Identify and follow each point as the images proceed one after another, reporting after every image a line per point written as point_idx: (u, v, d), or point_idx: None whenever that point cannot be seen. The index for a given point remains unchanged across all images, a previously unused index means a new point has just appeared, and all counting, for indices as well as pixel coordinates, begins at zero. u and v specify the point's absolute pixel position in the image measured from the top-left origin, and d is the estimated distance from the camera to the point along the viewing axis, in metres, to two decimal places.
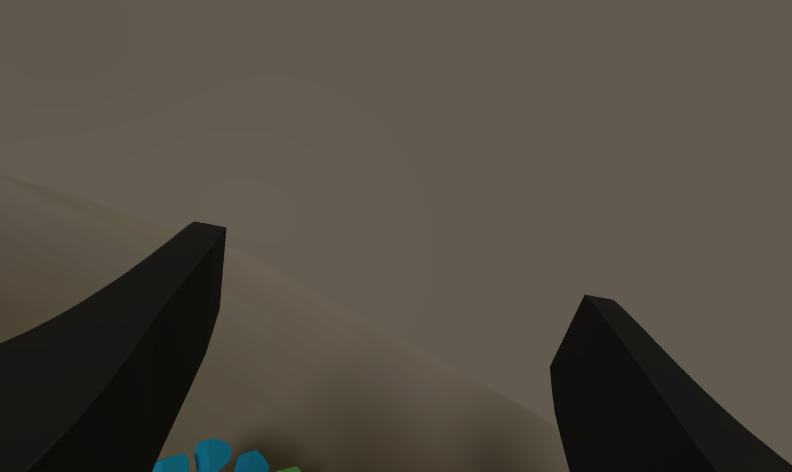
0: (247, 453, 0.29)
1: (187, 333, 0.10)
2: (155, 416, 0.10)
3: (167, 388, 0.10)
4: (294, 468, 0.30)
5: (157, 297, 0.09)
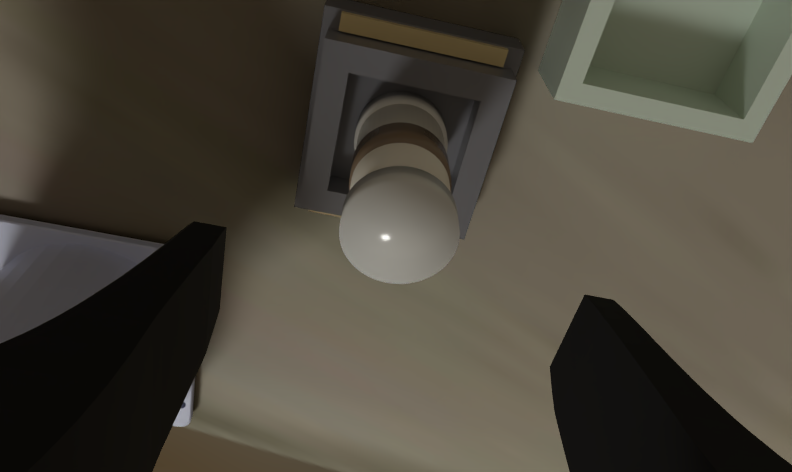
0: None
1: (187, 333, 0.10)
2: (155, 416, 0.10)
3: (167, 388, 0.10)
4: None
5: (157, 297, 0.09)
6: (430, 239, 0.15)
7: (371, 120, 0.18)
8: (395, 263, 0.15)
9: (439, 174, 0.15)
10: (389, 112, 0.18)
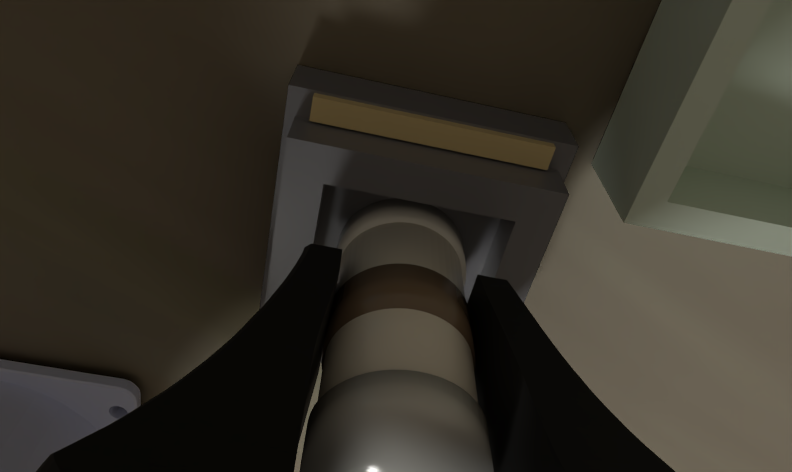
0: None
1: (318, 355, 0.11)
2: None
3: (304, 410, 0.10)
4: None
5: (309, 323, 0.09)
6: None
7: (357, 248, 0.12)
8: None
9: (460, 366, 0.10)
10: (383, 239, 0.12)
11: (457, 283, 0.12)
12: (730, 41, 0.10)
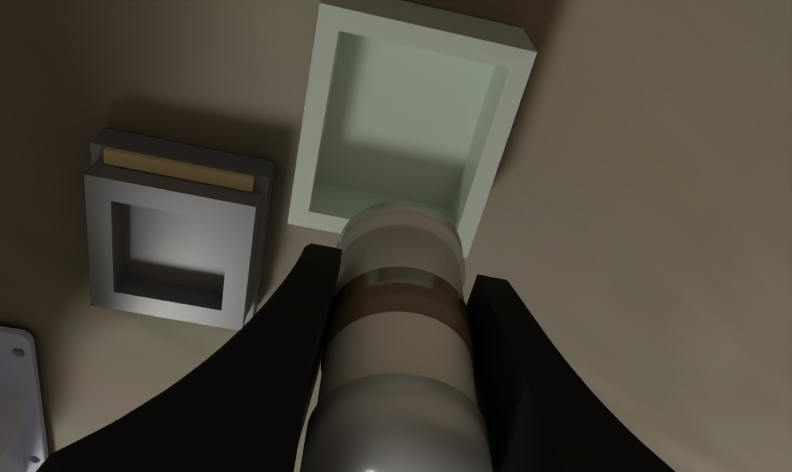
0: None
1: (318, 355, 0.11)
2: None
3: (304, 410, 0.10)
4: None
5: (309, 323, 0.09)
6: None
7: (359, 249, 0.12)
8: None
9: (461, 372, 0.10)
10: (385, 241, 0.12)
11: (458, 288, 0.12)
12: (311, 124, 0.18)
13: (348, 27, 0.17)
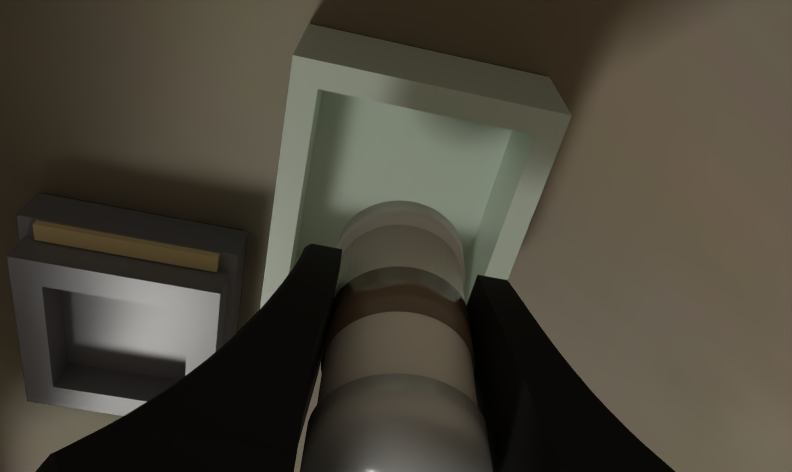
0: None
1: (318, 355, 0.11)
2: None
3: (304, 410, 0.10)
4: None
5: (309, 323, 0.09)
6: None
7: (359, 249, 0.12)
8: None
9: (461, 371, 0.10)
10: (385, 241, 0.12)
11: (458, 288, 0.12)
12: (286, 201, 0.15)
13: (330, 85, 0.13)
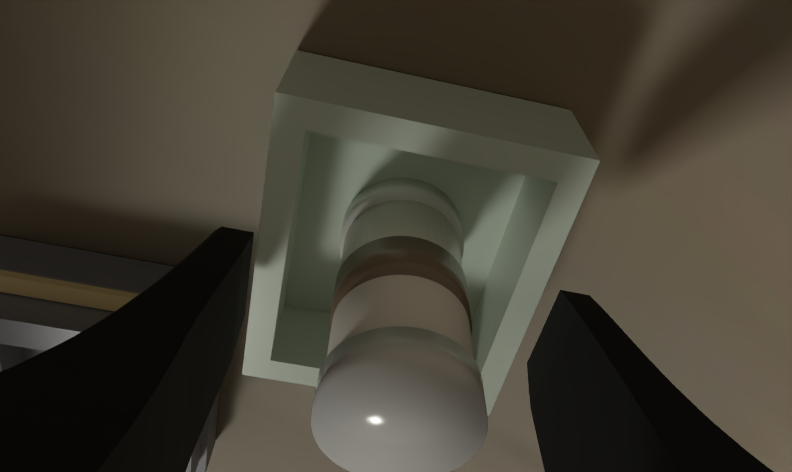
0: None
1: (218, 338, 0.10)
2: (188, 421, 0.10)
3: (199, 393, 0.10)
4: None
5: (193, 303, 0.09)
6: (444, 432, 0.10)
7: (364, 222, 0.13)
8: (391, 458, 0.10)
9: (459, 328, 0.11)
10: (388, 214, 0.13)
11: (456, 257, 0.13)
12: (270, 254, 0.13)
13: (319, 126, 0.11)
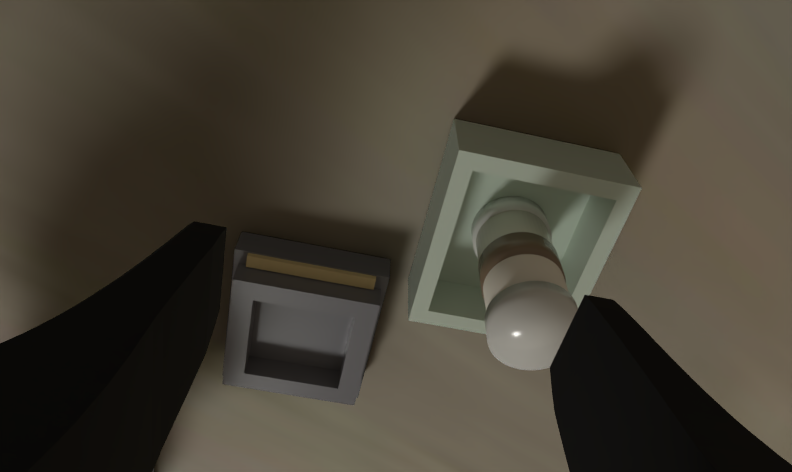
0: None
1: (187, 333, 0.10)
2: (155, 416, 0.10)
3: (167, 388, 0.10)
4: None
5: (157, 297, 0.09)
6: (559, 339, 0.18)
7: (494, 223, 0.22)
8: (527, 355, 0.19)
9: (564, 283, 0.19)
10: (510, 218, 0.21)
11: (552, 245, 0.21)
12: (440, 242, 0.21)
13: (481, 168, 0.20)
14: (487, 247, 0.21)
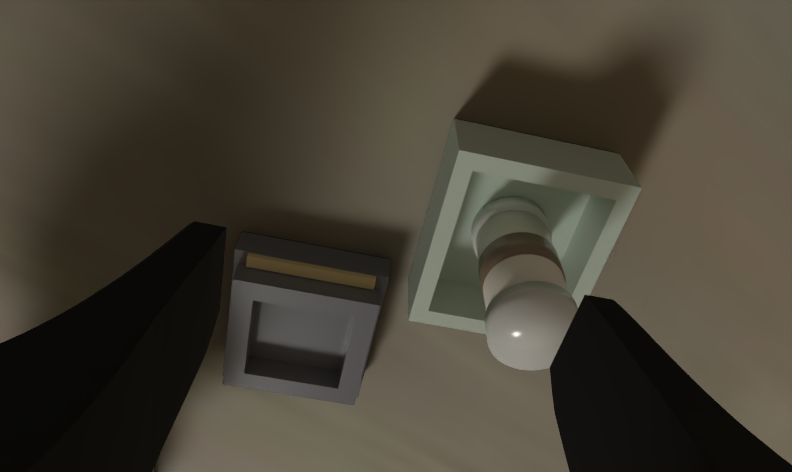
0: None
1: (187, 333, 0.10)
2: (155, 416, 0.10)
3: (167, 388, 0.10)
4: None
5: (157, 297, 0.09)
6: (559, 339, 0.18)
7: (494, 223, 0.22)
8: (527, 355, 0.19)
9: (564, 284, 0.19)
10: (510, 218, 0.21)
11: (552, 245, 0.21)
12: (440, 242, 0.21)
13: (481, 168, 0.20)
14: (487, 247, 0.21)
